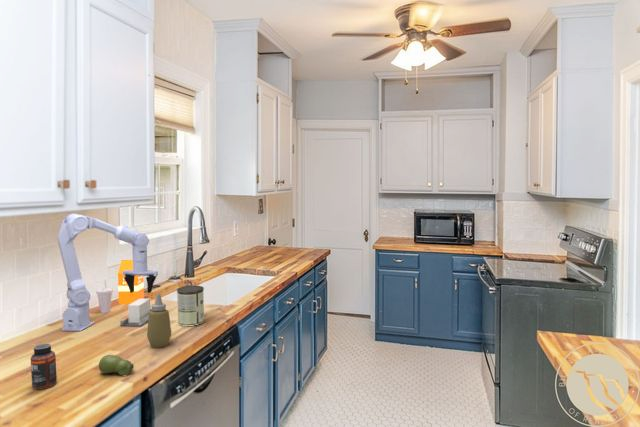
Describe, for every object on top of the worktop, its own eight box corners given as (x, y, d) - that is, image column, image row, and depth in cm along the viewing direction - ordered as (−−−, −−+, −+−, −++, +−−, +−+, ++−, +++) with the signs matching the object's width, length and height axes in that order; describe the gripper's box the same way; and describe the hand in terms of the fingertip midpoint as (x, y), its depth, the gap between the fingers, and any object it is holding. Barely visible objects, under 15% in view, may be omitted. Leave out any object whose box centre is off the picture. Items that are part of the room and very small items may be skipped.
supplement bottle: (58, 378, 127) (56, 340, 126) (55, 387, 121) (53, 348, 120) (34, 382, 124) (32, 343, 124) (29, 391, 119) (27, 351, 118)
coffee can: (178, 319, 180) (177, 286, 179) (204, 317, 183) (203, 284, 182) (176, 327, 170) (176, 292, 169) (204, 325, 173) (203, 290, 172)
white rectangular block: (139, 322, 174) (139, 305, 174) (128, 322, 175) (128, 305, 174) (150, 314, 184) (150, 298, 184) (140, 314, 185) (139, 298, 184)
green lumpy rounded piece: (106, 350, 134) (138, 357, 133) (104, 367, 134) (135, 373, 133) (96, 357, 128) (128, 364, 127) (93, 374, 129) (126, 381, 128)
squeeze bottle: (142, 348, 149) (141, 297, 148) (154, 340, 157) (153, 291, 156) (164, 350, 148) (163, 298, 147) (175, 341, 156) (174, 291, 155)
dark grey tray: (140, 326, 171) (140, 321, 171) (120, 326, 172) (120, 320, 172) (157, 314, 187) (157, 309, 187) (139, 313, 188) (138, 308, 188)
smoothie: (106, 314, 187) (105, 282, 186) (93, 313, 188) (92, 281, 187) (116, 310, 193) (115, 278, 192) (103, 309, 194) (102, 278, 193)
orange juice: (137, 304, 202) (136, 261, 201) (118, 304, 202) (117, 261, 201) (144, 299, 210) (143, 258, 209) (125, 299, 210) (124, 258, 208)
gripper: (160, 259, 190) (161, 290, 191) (127, 259, 190) (128, 289, 191) (153, 262, 183) (154, 294, 184) (119, 262, 183) (120, 293, 184)
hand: (140, 292), depth 187 cm, fingers open, 7 cm apart
